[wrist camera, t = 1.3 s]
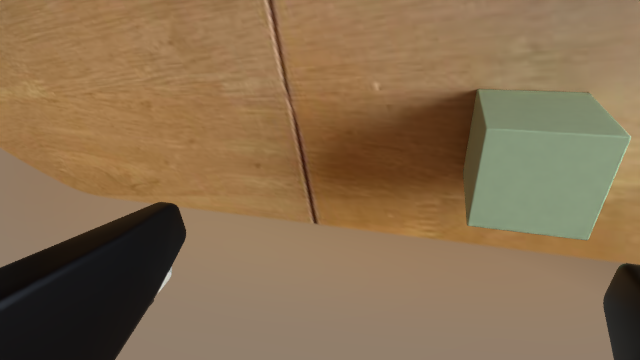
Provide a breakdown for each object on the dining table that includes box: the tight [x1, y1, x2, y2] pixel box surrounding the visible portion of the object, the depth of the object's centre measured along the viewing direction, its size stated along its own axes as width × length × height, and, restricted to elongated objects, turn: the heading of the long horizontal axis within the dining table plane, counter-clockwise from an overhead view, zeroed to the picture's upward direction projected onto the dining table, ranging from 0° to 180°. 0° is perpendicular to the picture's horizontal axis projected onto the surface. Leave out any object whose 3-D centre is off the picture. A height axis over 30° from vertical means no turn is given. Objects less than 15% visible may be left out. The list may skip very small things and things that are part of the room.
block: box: [463, 89, 631, 240], centre depth 16 cm, size 4×4×4 cm
